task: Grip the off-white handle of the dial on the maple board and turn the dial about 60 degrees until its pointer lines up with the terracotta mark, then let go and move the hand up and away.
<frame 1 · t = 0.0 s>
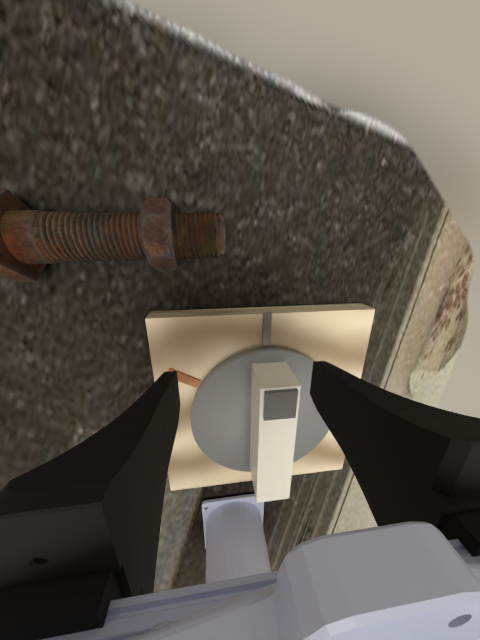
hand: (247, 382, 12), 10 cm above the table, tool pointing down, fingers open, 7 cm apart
dial board: (259, 395, 25), on the table
dial: (269, 429, 20), point 5 cm above the table, hinge at 0.0°
bolt: (129, 238, 19), on the table
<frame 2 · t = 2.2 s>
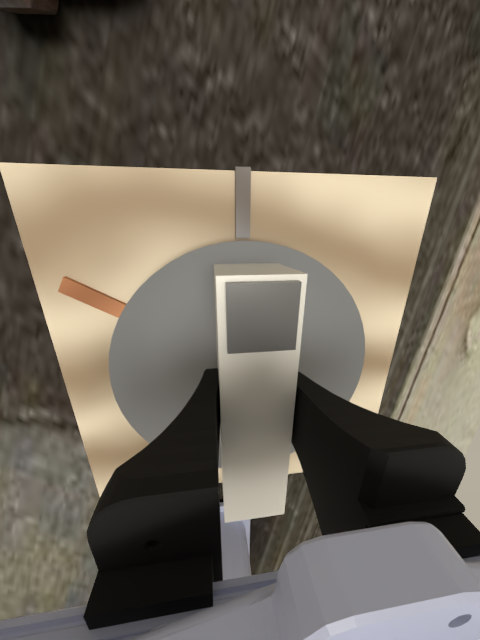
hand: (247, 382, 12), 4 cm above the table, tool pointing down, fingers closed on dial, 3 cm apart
dial board: (238, 348, 16), on the table
dial: (249, 390, 11), point 5 cm above the table, hinge at 0.0°, touching gripper
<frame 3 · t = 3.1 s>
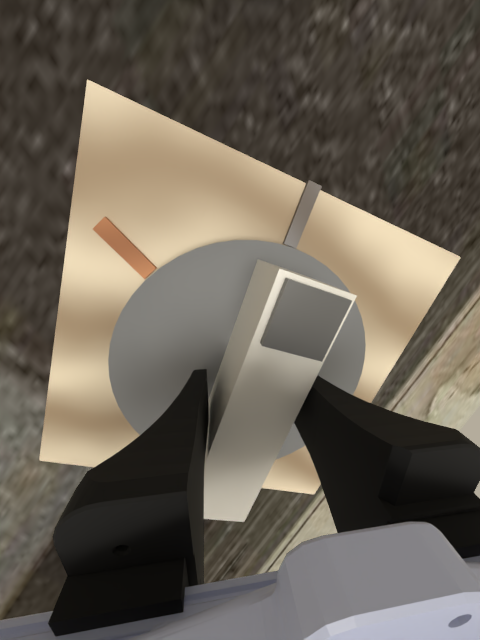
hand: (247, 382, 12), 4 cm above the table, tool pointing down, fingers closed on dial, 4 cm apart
dial board: (238, 347, 16), on the table
dial: (249, 390, 11), point 5 cm above the table, hinge at 0.8°, touching gripper
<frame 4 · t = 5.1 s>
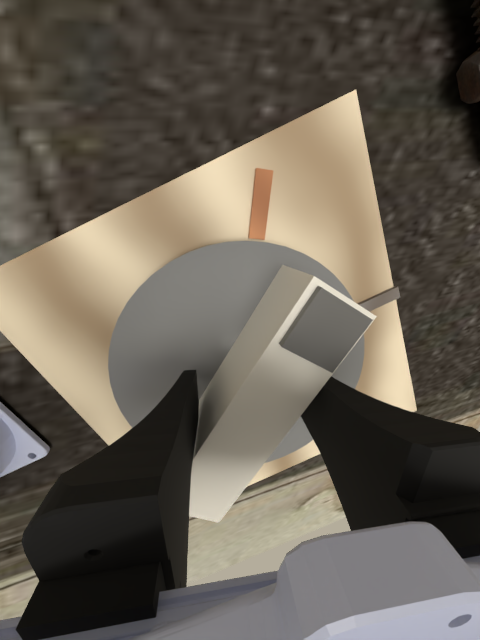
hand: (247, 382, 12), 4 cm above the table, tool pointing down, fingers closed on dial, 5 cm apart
dial board: (237, 348, 16), on the table
dial: (248, 390, 11), point 5 cm above the table, hinge at 35.2°, touching gripper
bolt: (458, 11, 11), on the table
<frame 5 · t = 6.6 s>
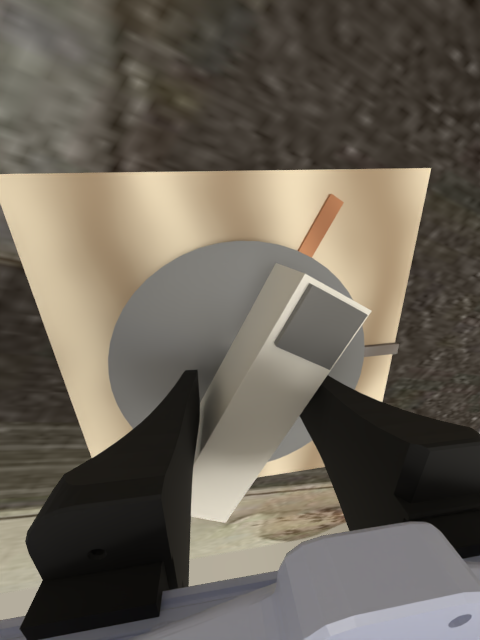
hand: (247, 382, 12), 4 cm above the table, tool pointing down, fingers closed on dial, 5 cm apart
dial board: (237, 348, 16), on the table
dial: (248, 390, 11), point 5 cm above the table, hinge at 60.1°, touching gripper
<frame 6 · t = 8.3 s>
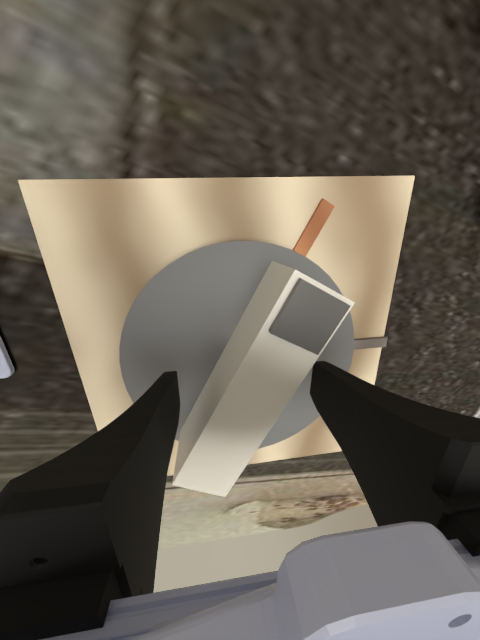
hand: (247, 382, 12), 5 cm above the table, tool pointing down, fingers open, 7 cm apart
dial board: (237, 340, 17), on the table
dial: (247, 377, 12), point 5 cm above the table, hinge at 60.4°
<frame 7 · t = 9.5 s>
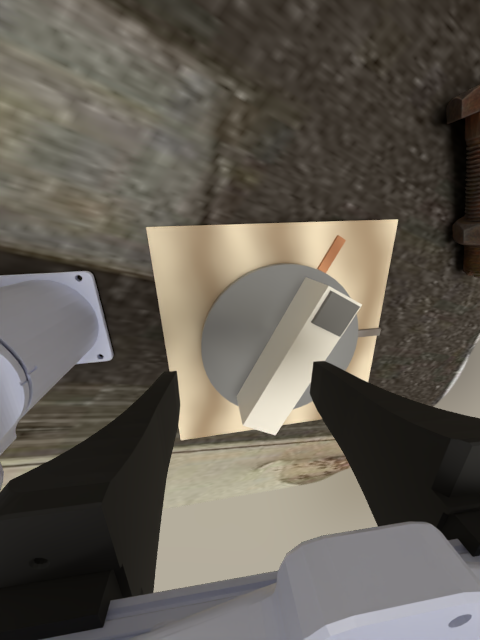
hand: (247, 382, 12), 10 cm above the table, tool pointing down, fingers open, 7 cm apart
dial board: (272, 332, 23), on the table
dial: (288, 354, 19), point 5 cm above the table, hinge at 60.4°
bolt: (459, 195, 22), on the table
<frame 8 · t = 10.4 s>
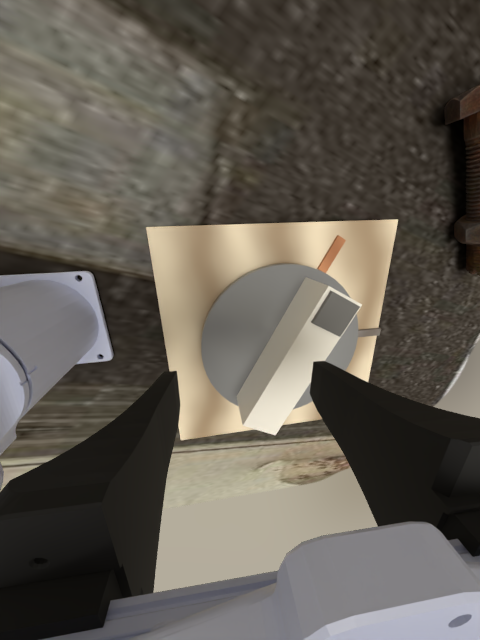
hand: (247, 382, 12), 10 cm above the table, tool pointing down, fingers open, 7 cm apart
dial board: (272, 332, 23), on the table
dial: (288, 354, 19), point 5 cm above the table, hinge at 60.4°
bolt: (459, 194, 22), on the table
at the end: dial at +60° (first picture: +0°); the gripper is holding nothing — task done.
